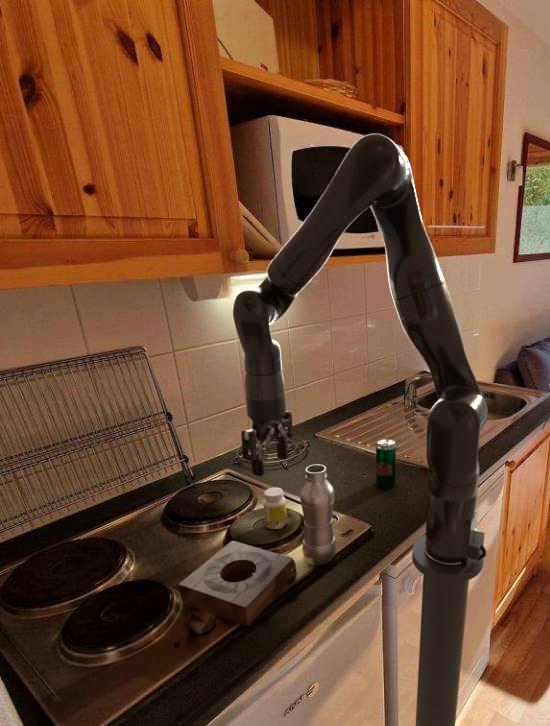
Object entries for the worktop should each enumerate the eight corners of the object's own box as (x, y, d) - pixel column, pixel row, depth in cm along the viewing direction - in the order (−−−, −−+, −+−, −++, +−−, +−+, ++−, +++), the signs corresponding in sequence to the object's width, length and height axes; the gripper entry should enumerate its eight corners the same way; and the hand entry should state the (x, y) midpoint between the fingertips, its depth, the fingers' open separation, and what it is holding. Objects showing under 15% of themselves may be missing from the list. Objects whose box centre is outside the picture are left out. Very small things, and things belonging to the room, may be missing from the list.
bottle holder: (294, 575, 90) (293, 558, 89) (247, 626, 78) (245, 607, 77) (234, 557, 95) (232, 540, 94) (181, 602, 83) (178, 584, 82)
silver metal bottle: (296, 559, 95) (290, 468, 87) (323, 545, 99) (319, 457, 92) (316, 574, 90) (311, 480, 83) (343, 559, 95) (341, 468, 87)
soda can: (373, 487, 122) (373, 444, 118) (379, 478, 127) (380, 437, 122) (392, 490, 121) (392, 447, 116) (397, 482, 125) (398, 439, 121)
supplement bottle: (291, 523, 107) (289, 489, 103) (277, 533, 103) (274, 499, 100) (275, 517, 109) (272, 484, 106) (260, 526, 105) (257, 493, 102)
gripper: (259, 406, 87) (265, 485, 93) (301, 386, 99) (304, 456, 105) (226, 400, 90) (234, 477, 96) (270, 381, 102) (275, 450, 108)
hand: (271, 466), depth 101 cm, fingers open, 8 cm apart
